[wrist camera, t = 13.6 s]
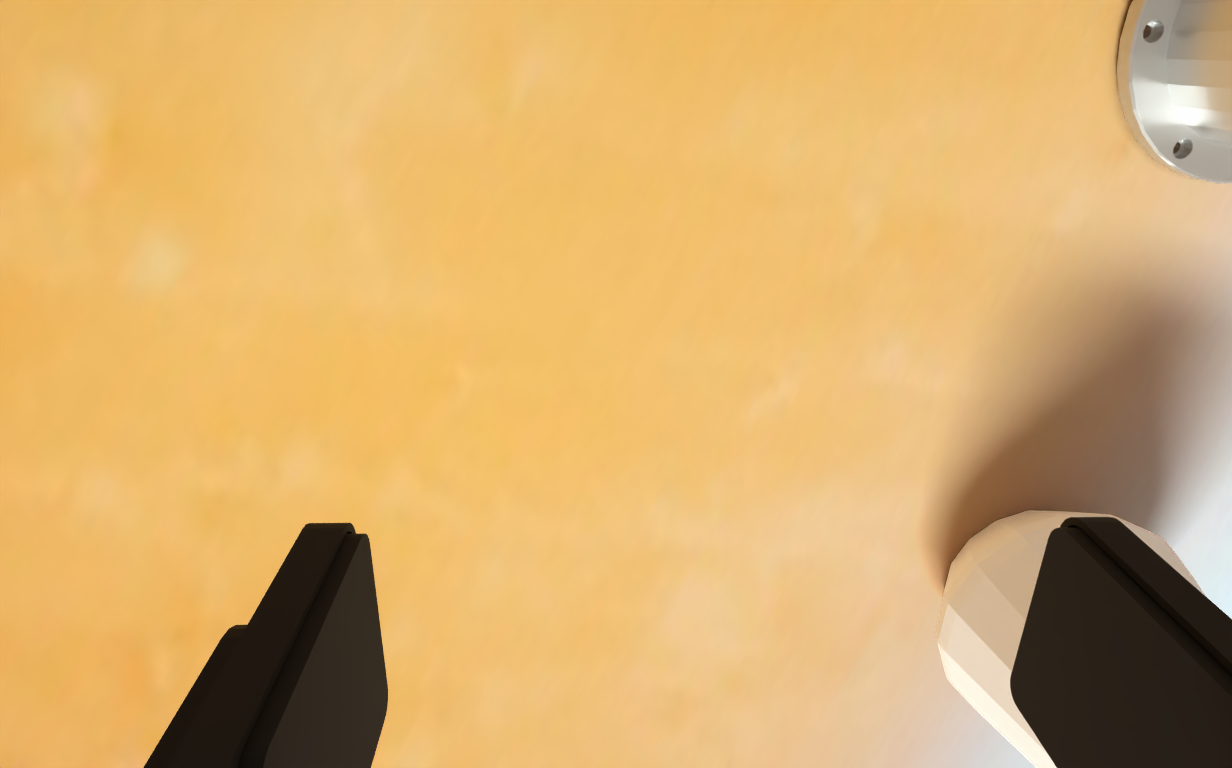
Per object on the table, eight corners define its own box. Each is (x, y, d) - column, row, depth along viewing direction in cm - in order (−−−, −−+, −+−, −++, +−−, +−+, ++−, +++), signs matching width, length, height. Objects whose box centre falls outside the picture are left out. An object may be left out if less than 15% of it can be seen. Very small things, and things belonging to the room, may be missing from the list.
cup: (874, 647, 48) (982, 867, 35) (965, 455, 43) (1129, 630, 30) (1073, 682, 50) (1245, 904, 37) (1183, 502, 45) (1425, 686, 32)
